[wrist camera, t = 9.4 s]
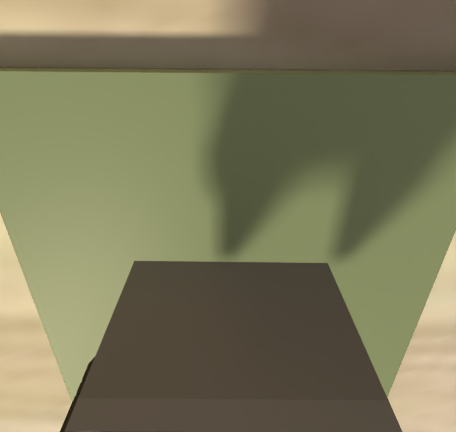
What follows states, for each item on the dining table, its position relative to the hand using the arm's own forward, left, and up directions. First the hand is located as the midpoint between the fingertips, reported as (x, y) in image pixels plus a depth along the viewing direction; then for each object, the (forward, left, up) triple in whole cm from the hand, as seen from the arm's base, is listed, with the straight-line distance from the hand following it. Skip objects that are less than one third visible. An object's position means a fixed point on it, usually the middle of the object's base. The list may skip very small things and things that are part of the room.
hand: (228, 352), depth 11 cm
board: (+4, 0, -6) cm, 7 cm away
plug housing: (0, 0, -1) cm, 1 cm away
